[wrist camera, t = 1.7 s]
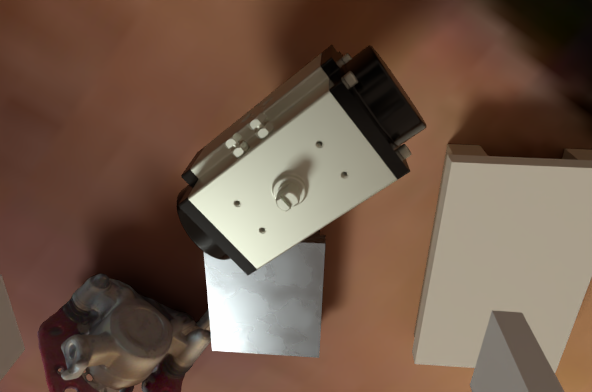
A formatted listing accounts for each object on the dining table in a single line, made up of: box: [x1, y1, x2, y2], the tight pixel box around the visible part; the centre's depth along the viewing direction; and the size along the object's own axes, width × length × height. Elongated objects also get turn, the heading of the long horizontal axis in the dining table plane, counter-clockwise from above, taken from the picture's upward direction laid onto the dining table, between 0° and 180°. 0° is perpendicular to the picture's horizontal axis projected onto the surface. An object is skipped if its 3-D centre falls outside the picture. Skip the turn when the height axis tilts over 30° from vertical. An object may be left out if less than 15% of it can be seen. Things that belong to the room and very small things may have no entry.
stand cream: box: [412, 144, 592, 373], centre depth 32 cm, size 16×10×3 cm, turn 179°
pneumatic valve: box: [177, 45, 426, 275], centre depth 24 cm, size 6×12×12 cm, turn 129°
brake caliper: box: [38, 274, 211, 392], centre depth 34 cm, size 11×11×12 cm
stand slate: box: [204, 230, 325, 358], centre depth 34 cm, size 10×8×3 cm
